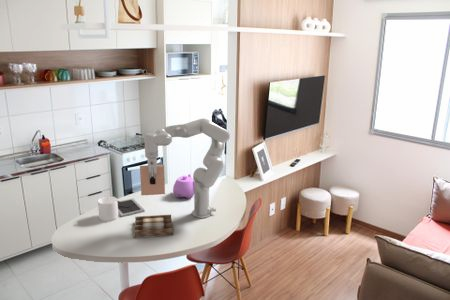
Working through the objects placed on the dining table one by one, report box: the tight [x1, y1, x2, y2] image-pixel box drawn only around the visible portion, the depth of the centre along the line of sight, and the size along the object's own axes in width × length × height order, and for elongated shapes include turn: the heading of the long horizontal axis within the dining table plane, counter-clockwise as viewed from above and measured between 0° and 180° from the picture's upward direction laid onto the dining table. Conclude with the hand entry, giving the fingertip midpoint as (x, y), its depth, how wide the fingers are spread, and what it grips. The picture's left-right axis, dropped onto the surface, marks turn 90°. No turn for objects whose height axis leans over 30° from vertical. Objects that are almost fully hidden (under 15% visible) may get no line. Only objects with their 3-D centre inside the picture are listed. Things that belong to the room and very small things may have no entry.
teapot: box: [172, 173, 194, 200], centre depth 284 cm, size 20×20×15 cm
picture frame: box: [117, 198, 146, 218], centre depth 262 cm, size 16×3×21 cm
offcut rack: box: [133, 214, 174, 238], centre depth 237 cm, size 22×18×4 cm
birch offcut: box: [143, 218, 164, 223], centre depth 237 cm, size 12×4×6 cm, turn 101°
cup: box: [97, 195, 119, 222], centre depth 248 cm, size 12×12×12 cm
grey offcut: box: [143, 223, 164, 230], centre depth 231 cm, size 12×4×6 cm, turn 96°
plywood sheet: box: [139, 164, 166, 196], centre depth 234 cm, size 14×2×18 cm, turn 100°
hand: (152, 182), depth 235 cm, fingers closed on plywood sheet, 2 cm apart
